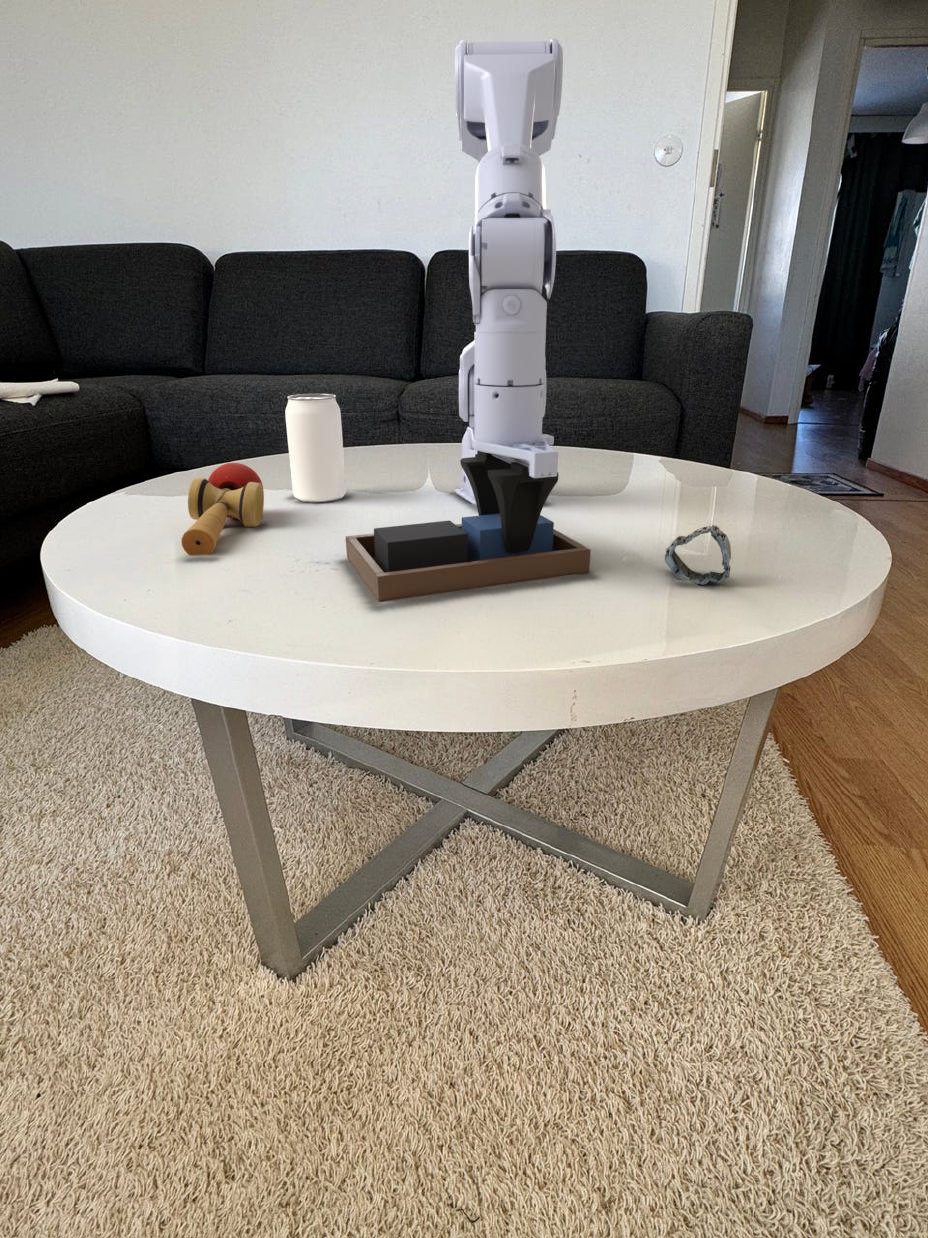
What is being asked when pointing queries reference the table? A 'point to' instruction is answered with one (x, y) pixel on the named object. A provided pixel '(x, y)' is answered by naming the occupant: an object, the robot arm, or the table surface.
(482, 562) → the tray
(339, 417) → the can
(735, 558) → the table surface
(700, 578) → the rough grey ring
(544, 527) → the blue rectangular block
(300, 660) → the table surface
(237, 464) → the kendama
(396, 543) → the black rectangular block
